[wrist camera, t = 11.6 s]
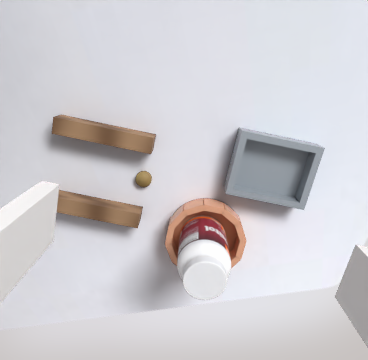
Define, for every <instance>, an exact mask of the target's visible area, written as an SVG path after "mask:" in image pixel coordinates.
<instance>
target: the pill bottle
mask: <svg viewBox="0 0 368 360" xmlns="http://www.w3.org/2000/svg"><path fill="white" fill-rule="evenodd" d="M177 269H178V273H179V275H180V277H181V279H182V280H183V286H184V288H185V290H186V292H187V293H188V294H189V295H191V296H192V297H194V298H196V299H200V300H210V299H213V298H216V297H218V296H219V295H220V294H221V293H222V292H223V291H224V290H225V288H226V285H227V278H228V277H229V275H230V272H231V259H230V254H229V249H228V244H227V239H226V233H225V230H224V228H223V226H222V225H221V223H220V222H219V221H217V220H216V219H214V218H212V217H210V216H204V215H203V216H196V217H193V218H191V219H189V220H188V221H187V222H186V223H185V224H184V225H183V227H182V229H181V232H180V239H179V249H178V259H177Z"/></svg>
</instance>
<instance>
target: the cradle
mask: <svg viewBox="0 0 368 360" xmlns="http://www.w3.org/2000/svg"><path fill="white" fill-rule="evenodd" d="M52 134H56V135H61V136H66V137H71V138H76V139H81V140H85V141H90V142H95V143H100V144H105V145H109V146H114V147H119V148H124V149H129V150H134V151H138V152H143V153H148V154H151V153H152V151H153V148H154V142H155V137H156V134H151V133H146V132H141V131H137V130H132V129H127V128H122V127H118V126H113V125H108V124H103V123H99V122H94V121H89V120H84V119H79V118H75V117H70V116H65V115H59V116H55V117H53V127H52ZM151 180H152V177H151V175H150V173H148V172H146V171H141V172H139V173H138V174H137V176H136V183H137V184H138V185H139V186H141V187H147V186H148V185H149V184H150V183H151ZM142 208H143V207H140V206H135V205H130V204H126V203H121V202H116V201H111V200H106V199H101V198H96V197H91V196H86V195H81V194H76V193H71V192H66V191H61V190H59V194H58V203H57V212H58V213H63V214H68V215H74V216H79V217H84V218H89V219H94V220H99V221H104V222H109V223H114V224H119V225H124V226H129V227H134V228H138V225H139V222H140V219H141V214H142Z"/></svg>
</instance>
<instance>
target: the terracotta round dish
mask: <svg viewBox="0 0 368 360" xmlns="http://www.w3.org/2000/svg"><path fill="white" fill-rule="evenodd" d="M203 215H204V216H210V217H212V218H214V219H216V220H217V221H219V222H220V223H221V225H222V226H223V228H224V230H225V233H226V239H227V244H228V249H229V254H230V259H231V268H232V267H233V266H234V265H235V264H237V263H238V262H239V261H240V260H241V258H242V254H243V251H244V248H245V244H246V238H245V234H244V231H243V228H242V225H241V222H240V218H239V216H238V215H237V214H236V213H235V212H234V210H233V209H232V208H231V207H229V206H228V205H226V204H225V203H223V202H221V201H218V200H215V199H209V198H202V199H196V200H192V201H189V202H187V203H185V204H184V205H182V206H181V207H180V208H179V209H177V210H176V212H175V213H174V214H173V216H172V217H171V218H170V221H169V225H168V230H167V235H166V241H165V246H166V248H167V251H168V254H169V256H170V259H171V261H172V263H174V264H175V265H176V266H177V259H178V249H179V239H180V232H181V229H182V227H183V225H184V224H185V223H186V222H187V221H188V220H189V219H191V218H193V217H196V216H203Z"/></svg>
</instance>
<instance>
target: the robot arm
mask: <svg viewBox="0 0 368 360" xmlns="http://www.w3.org/2000/svg"><path fill="white" fill-rule="evenodd" d="M58 194H59V184H55V183H50V182H45V181H41V182H39V183H38V184H36V185H35V186H33V187H32V188H30V189H29V190H27V191H26V192H24V193H23V194H22V195H20V196H19V197H17V198H16V199H14V200H13V201H11V202H10V203H8V204H7V205H5V206H4V207H2V208H1V209H0V304H1V303H2V302H3V300H4V299H5V298H6V297H7V296H8V295H9V293H10V292H11V291H12V290H13V289H14V288H15V286H16V285H17V284H18V283H19V282H20V281H21V279H22V278H23V277H24V276H25V275H26V273H27V272H28V271H29V270H30V269H31V268H32V266H33V265H34V264H35V263H36V262H37V261H38V259H39V258H40V257H41V256H42V255H43V253H44V252H45V251H46V250H47V249H48V248H49V246H50V245H51V244H52V243H53V242H54V233H55V223H56V213H57V203H58ZM335 298H336V299H337V301H338V302H339V304H340V306H341V307H342V309H343V310H344V312H345V313H346V315H347V316H348V318H349V320H350V321H351V322H352V324H353V326H354V327H355V329H356V330H357V332H358V333H359V335H360V336H361V338H362V340H363V341H364V343H365V344H366V346H367V347H368V247H365V246H361V245H355V247H354V250H353V252H352V255H351V257H350V260H349V262H348V265H347V267H346V270H345V272H344V275H343V277H342V280H341V282H340V285H339V287H338V290H337V292H336V295H335Z"/></svg>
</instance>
